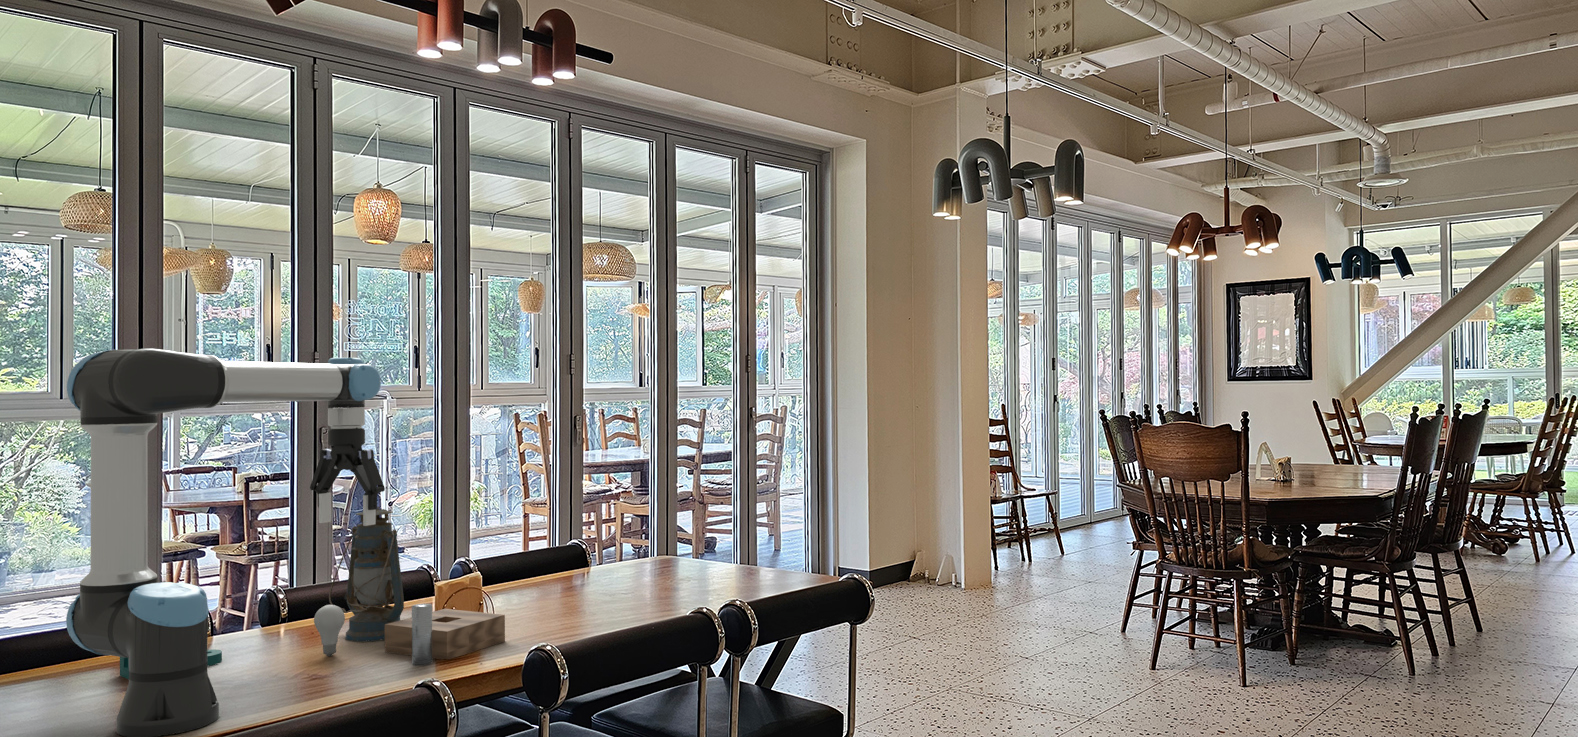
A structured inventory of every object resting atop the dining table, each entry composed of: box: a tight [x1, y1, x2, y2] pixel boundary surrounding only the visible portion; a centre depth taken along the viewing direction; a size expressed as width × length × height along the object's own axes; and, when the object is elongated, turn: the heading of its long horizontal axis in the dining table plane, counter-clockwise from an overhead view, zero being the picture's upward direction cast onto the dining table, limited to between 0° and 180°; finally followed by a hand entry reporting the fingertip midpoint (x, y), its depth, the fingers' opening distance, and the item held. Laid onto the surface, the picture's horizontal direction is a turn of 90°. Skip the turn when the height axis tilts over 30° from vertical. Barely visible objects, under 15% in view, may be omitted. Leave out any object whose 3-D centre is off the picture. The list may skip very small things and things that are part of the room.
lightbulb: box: [313, 604, 346, 657], centre depth 225 cm, size 6×6×11 cm
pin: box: [411, 603, 433, 667], centre depth 218 cm, size 4×4×12 cm
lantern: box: [328, 506, 405, 643], centre depth 244 cm, size 19×14×30 cm
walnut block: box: [384, 608, 506, 660], centre depth 232 cm, size 18×18×6 cm
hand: (347, 523), depth 229 cm, fingers open, 13 cm apart
